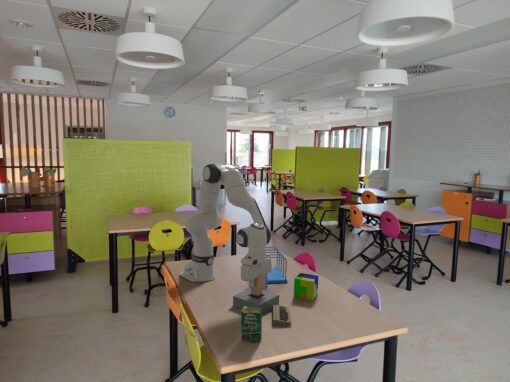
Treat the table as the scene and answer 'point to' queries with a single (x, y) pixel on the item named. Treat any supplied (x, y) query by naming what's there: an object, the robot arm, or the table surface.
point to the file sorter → (277, 269)
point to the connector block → (258, 285)
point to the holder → (256, 300)
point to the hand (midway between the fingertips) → (256, 285)
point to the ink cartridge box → (263, 282)
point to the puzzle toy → (306, 286)
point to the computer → (281, 316)
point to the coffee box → (251, 324)
